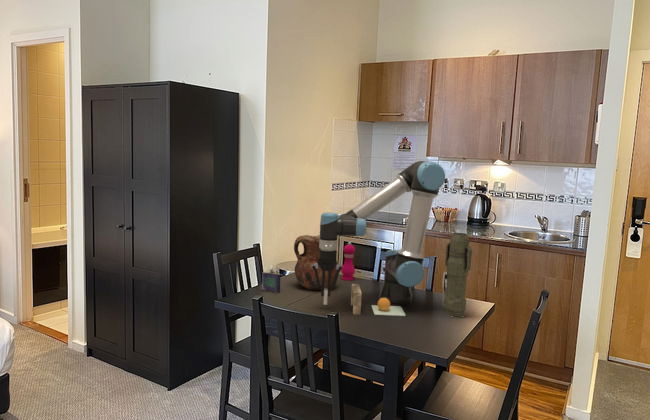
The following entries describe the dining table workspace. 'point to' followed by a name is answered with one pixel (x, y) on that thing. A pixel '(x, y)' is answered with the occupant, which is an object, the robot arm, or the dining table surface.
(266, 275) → the flask
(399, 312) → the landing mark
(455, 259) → the olive brown statue
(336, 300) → the dining table surface
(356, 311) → the bridge
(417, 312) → the dining table surface
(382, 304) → the ball
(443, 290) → the beer glass
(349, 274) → the pepper mill
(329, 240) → the robot arm
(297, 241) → the jug
